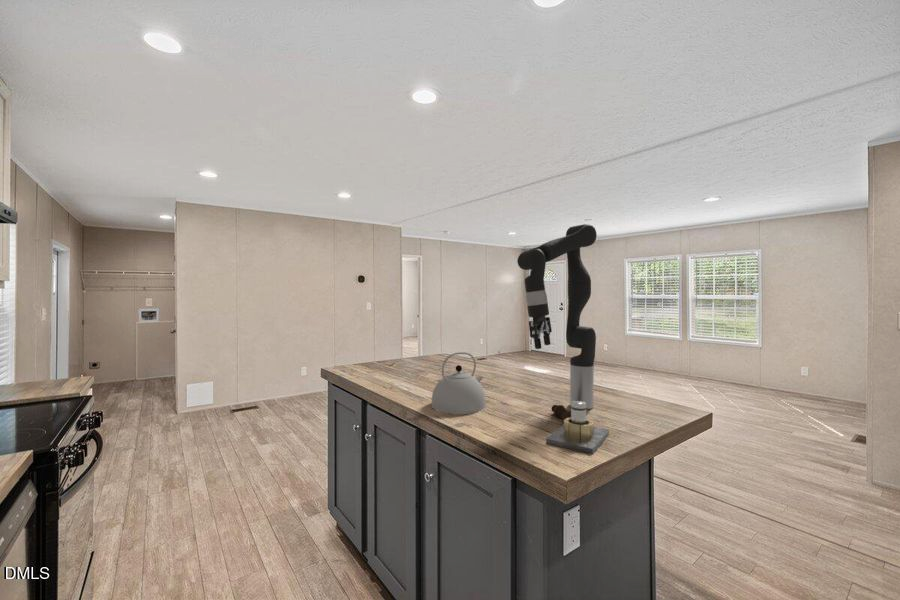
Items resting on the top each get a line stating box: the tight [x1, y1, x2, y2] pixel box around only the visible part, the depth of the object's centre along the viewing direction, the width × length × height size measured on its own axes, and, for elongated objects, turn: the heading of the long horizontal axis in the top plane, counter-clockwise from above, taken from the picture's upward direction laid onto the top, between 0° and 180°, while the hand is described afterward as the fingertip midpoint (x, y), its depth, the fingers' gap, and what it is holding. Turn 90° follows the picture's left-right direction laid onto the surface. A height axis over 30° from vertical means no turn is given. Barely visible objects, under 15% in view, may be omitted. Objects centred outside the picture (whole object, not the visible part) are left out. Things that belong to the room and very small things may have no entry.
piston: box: [570, 401, 587, 425], centre depth 124 cm, size 5×5×10 cm
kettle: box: [431, 351, 487, 415], centre depth 161 cm, size 25×23×23 cm
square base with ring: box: [545, 418, 610, 455], centre depth 124 cm, size 20×14×6 cm
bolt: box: [551, 404, 571, 421], centre depth 144 cm, size 6×5×15 cm
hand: (543, 346), depth 143 cm, fingers open, 8 cm apart
